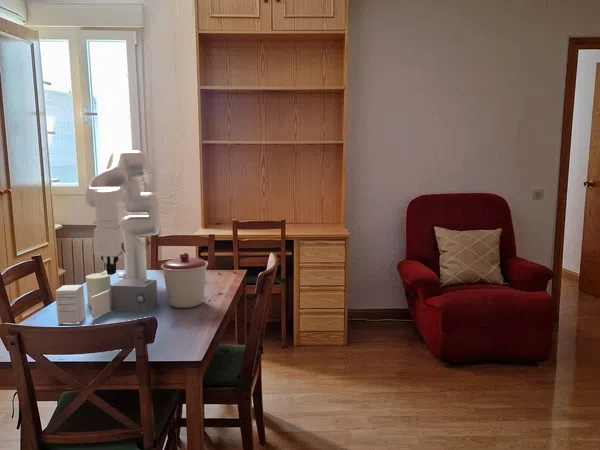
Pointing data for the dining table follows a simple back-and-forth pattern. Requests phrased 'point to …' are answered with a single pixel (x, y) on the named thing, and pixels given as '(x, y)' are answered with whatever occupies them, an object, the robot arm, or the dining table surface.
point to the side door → (101, 303)
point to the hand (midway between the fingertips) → (111, 273)
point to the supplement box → (70, 304)
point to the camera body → (134, 295)
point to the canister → (185, 281)
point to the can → (97, 284)
